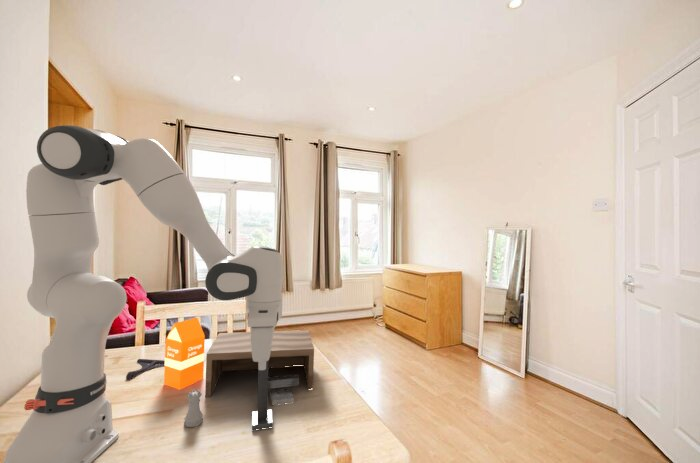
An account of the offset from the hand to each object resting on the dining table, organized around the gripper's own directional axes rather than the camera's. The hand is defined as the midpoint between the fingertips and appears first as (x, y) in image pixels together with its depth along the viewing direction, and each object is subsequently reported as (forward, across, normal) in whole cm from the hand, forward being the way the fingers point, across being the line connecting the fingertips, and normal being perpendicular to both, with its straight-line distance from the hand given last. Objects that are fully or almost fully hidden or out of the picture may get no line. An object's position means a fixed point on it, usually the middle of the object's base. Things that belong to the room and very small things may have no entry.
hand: (262, 365), depth 81 cm
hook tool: (+15, -9, +4) cm, 18 cm away
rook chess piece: (+16, -6, -17) cm, 24 cm away
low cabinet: (+16, -29, -1) cm, 33 cm away
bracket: (+17, -42, -42) cm, 62 cm away
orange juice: (+16, -31, -26) cm, 44 cm away
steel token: (+17, -14, +5) cm, 23 cm away
